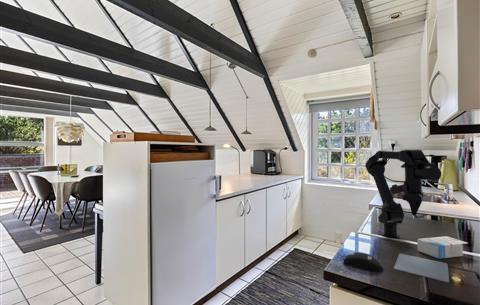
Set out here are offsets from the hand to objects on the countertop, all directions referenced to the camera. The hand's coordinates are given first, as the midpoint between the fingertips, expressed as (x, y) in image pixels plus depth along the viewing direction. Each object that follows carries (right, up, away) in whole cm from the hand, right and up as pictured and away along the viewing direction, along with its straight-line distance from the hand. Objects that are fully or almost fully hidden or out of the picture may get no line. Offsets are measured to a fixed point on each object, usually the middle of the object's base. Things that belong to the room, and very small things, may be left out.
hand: (414, 215), depth 100 cm
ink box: (-2, -10, -9) cm, 14 cm away
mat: (-12, -13, -19) cm, 26 cm away
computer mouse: (-31, -13, -18) cm, 39 cm away
